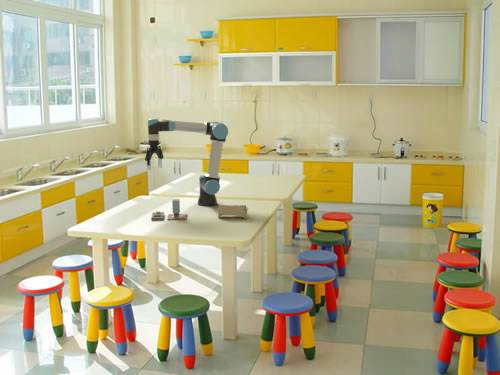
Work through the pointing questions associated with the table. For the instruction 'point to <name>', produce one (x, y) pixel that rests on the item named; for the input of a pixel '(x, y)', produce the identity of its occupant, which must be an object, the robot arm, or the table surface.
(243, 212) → the toy sofa
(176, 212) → the brick
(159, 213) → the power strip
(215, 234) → the table surface
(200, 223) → the table surface
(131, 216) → the table surface
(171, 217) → the walnut pad
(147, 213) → the table surface
